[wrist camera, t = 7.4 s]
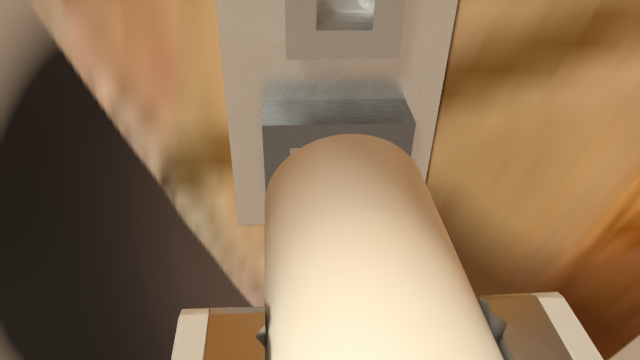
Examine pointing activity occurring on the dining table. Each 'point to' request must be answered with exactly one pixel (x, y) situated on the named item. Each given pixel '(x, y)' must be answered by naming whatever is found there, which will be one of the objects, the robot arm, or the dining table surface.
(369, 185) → the white rounded cylinder
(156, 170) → the dining table surface
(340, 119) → the fitting board
